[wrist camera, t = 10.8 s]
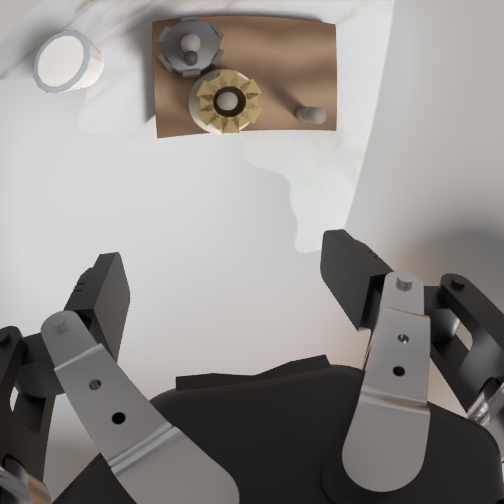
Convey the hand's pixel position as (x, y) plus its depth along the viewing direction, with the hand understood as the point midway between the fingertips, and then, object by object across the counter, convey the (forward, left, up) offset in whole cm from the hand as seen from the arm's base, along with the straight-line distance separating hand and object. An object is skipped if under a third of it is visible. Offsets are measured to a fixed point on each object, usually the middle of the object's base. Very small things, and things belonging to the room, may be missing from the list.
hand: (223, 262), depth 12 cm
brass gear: (-6, +3, -24) cm, 25 cm away
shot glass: (-13, -14, -26) cm, 33 cm away
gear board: (-10, +5, -26) cm, 28 cm away
